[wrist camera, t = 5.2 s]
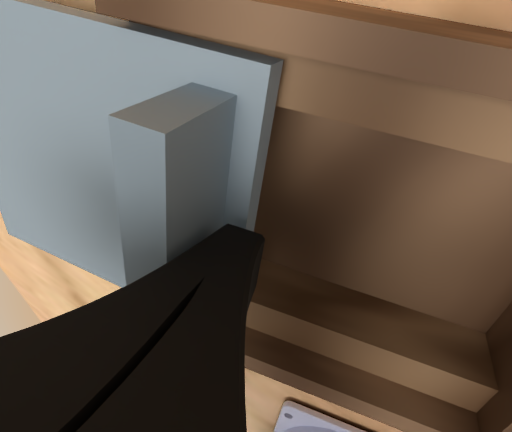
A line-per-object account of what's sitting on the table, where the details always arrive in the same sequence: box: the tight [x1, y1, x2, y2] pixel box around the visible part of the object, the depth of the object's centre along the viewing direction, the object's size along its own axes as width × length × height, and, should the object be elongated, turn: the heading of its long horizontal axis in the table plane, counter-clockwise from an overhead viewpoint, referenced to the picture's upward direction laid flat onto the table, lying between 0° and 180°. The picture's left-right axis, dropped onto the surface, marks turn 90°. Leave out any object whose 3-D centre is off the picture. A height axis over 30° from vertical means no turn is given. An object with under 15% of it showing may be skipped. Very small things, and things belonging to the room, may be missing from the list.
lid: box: [0, 0, 283, 288], centre depth 11 cm, size 11×10×4 cm
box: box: [95, 0, 512, 432], centre depth 11 cm, size 14×12×4 cm
